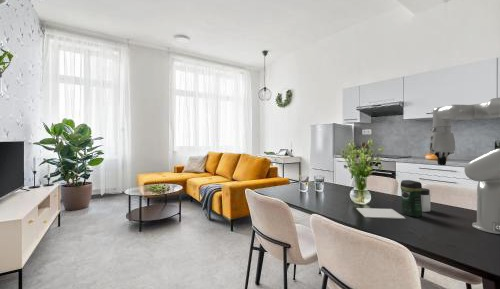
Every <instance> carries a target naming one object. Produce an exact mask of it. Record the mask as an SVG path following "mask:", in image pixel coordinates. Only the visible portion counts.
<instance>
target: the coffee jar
mask: <svg viewBox="0 0 500 289" xmlns="http://www.w3.org/2000/svg"><path fill="white" fill-rule="evenodd" d="M422 188H423V185H422V183H421V182H420V181H417V180H416V181H415V180H412V179H411V180H410V179H402V180H401V182H400V191H401V197H400V198H401V201H400V203H401V204H400V213H401V214H403V215H407V216H410V217H416V218H420V217H422V215H423V212H422V205H421V191H422Z"/></svg>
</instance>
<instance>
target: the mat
mask: <svg viewBox="0 0 500 289" xmlns="http://www.w3.org/2000/svg"><path fill="white" fill-rule="evenodd" d="M355 210H357V211H358V212H359V213H360V214H361V215H362V216H363V217H364V218H367V219H368V218H370V219H395V220H397V219H399V220H406V219H407V218H406V217H405V216H403V215H402V214H400V213H399V212H398V211H396V210H394V209H393V208H375V207H374V208H371V207H370V208H369V207H368V208H367V207H356V209H355Z"/></svg>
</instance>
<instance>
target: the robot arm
mask: <svg viewBox="0 0 500 289" xmlns="http://www.w3.org/2000/svg"><path fill="white" fill-rule="evenodd" d="M493 118H494V119H495V118H500V97H494V98H491V99H489V100H488V101H487V102H483V103H475V104H474V103H473V104H451V105H447V106H439V107H435V108H433V109H432V128H430V132H432V133H431V135H430V138H429V154H430V155H434V156H435V157H436V159H437V160H436V161H437V162H436V163H437V165H438V166H446V165H447V158H448V156H449V155H453V154H454V153H455V151H456V141H455V135H454V133H453V132H452V120H453V121H456V120H457V121H458V120H459V121H469V120H470V121H471V120H472V121H473V120H482V119H483V120H484V119H493ZM463 171H464V175H465V176H466V177H467V178H468V179H470V180H471V181H473V182H474V181H475V182H477V188H476V221H475V222H472V227H473V228H475V229H477V230H478V231H481V232H486V233H491V234H497V235H500V147H498V148H495V149H493V150H490V151H488V152H487V153H484V154H482V155H480V156H478V157H476V158H474V159H472V160H471V161H469V162H468V163H466V165H465V167H464V170H463Z"/></svg>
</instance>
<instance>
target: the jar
mask: <svg viewBox="0 0 500 289" xmlns="http://www.w3.org/2000/svg"><path fill="white" fill-rule="evenodd" d="M430 192H431V191H430V189H429V188H425V187H422V191H421V205H422V213H426V212H431V193H430Z"/></svg>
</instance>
